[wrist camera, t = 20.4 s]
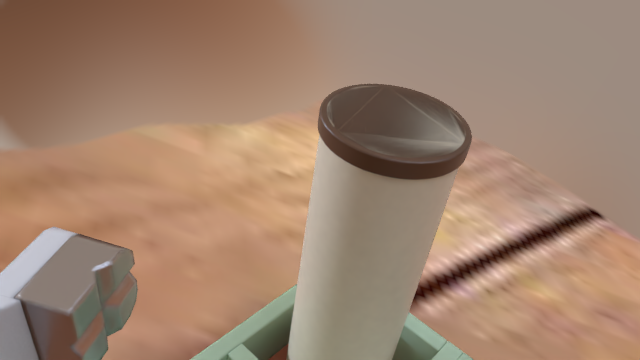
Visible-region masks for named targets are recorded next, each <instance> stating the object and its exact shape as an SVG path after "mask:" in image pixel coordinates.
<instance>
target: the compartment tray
mask: <svg viewBox="0 0 640 360" xmlns="http://www.w3.org/2000/svg"><path fill="white" fill-rule="evenodd" d="M296 290H297V284H296V285H295V286H293V287H292V288H291V289H289V290H288V291H286V292H285V293H284V294H282V295H281V296H279V297H278V298H276V299H275V300H274V301H272V302H271V303H269V304H268V305H267V306H265V307H264V308H262V309H261V310H260V311H258V312H257V313H255V314H254V315H253V316H251V317H250V318H248V319H247V320H245V321H244V322H243V323H241V324H240V325H238V326H237V327H236V328H234V329H233V330H231V331H230V332H229V333H227V334H226V335H224V336H223V337H222V338H220V339H219V340H217V341H216V342H214V343H213V344H212V345H210V346H209V347H207V348H206V349H205V350H203V351H202V352H200V353H199V354H198V355H196V356H195V357H193V358H192V359H191V360H286V357H287V350H288V344H289V337H290V330H291V323H292V317H293V310H294V303H295V296H296ZM392 360H473V359H472V358H471V357H469V356H468V355H467V354H465V353H463V351H461V350H460V349H458V348H457V347H456V346H454V345H453V344H452V343H450V342H449V341H448V342H447V340H446V339H444V338H443V337H442V336H440V335H439V334H438V333H436V332H435V331H434V330H432V329H431V328H429V327H428V326H427V325H425V324H424V323H423V322H421V321H420V320H419V319H417V318H416V317H415V316H413V315H412V314H410V313H409V312H408V315H407V318H406V321H405V324H404V327H403V330H402V333H401V335H400V338H399V341H398V344H397V347H396V350H395V353H394V356H393V358H392Z"/></svg>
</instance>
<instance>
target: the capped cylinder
mask: <svg viewBox="0 0 640 360" xmlns="http://www.w3.org/2000/svg"><path fill="white" fill-rule="evenodd" d="M318 131H319V141H318V148H317V154H316V161H315V168H314V175H313V182H312V188H311V195H310V202H309V209H308V215H307V222H306V229H305V236H304V242H303V249H302V256H301V263H300V269H299V276H298V283H297V290H296V296H295V303H294V310H293V317H292V323H291V330H290V337H289V344H288V350H287V357H286V360H392V358H393V356H394V353H395V350H396V347H397V344H398V341H399V338H400V335H401V333H402V330H403V327H404V324H405V321H406V318H407V315H408V312H409V309H410V307H411V304H412V301H413V298H414V295H415V292H416V289H417V286H418V284H419V281H420V278H421V275H422V272H423V269H424V266H425V263H426V260H427V258H428V255H429V252H430V249H431V246H432V243H433V240H434V237H435V235H436V232H437V229H438V226H439V223H440V220H441V217H442V214H443V211H444V209H445V206H446V203H447V200H448V197H449V194H450V191H451V188H452V186H453V183H454V180H455V177H456V174H457V171H458V168H459V166H460V165H461V164H462V163H463V162H464V160H465V158H466V156H467V153H468V150H469V147H470V144H471V140H472V135H471V130H470V128H469V126H468V124H467V122H466V121H465V120H464V118H462V116H461V115H460V114H459V113H458V112H457V111H455V110H454V109H453V108H451V107H450V106H448V105H447V104H445V103H444V102H442V101H440V100H438V99H436V98H434V97H431V96H429V95H427V94H424V93H421V92H418V91H415V90H411V89H407V88H403V87H398V86H392V85H384V84H360V85H352V86H349V87H344V88H341V89H338V90H336V91H334V92H333V93H331V94H330V95H328V96H327V97H326V98H325V99H324V101H323V102H322V104H321V107H320V112H319V119H318Z"/></svg>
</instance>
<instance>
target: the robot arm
mask: <svg viewBox="0 0 640 360" xmlns="http://www.w3.org/2000/svg"><path fill="white" fill-rule="evenodd" d="M134 264H135V262H134V256H133V251H132V250H130V249H127V248H124V247H120V246H117V245H114V244H111V243H107V242H104V241H101V240H97V239H94V238H91V237H87V236H84V235H81V234H77V233H74V232H70V231H67V230H63V229H60V228H56V227H52V228H49V229H47V230H45V231H43V232H42V233H41V234H40V235H39V236H38V237H37V238H36V239H35V240H34V241H33V242H32V243H31V244H30V245H29V246H28V247H27V248H26V249H25V250H24V251H23V252H22V253H21V254H20V255H18V256H17V257H16V258H15V259H14V260H13V261H12V262H11V263H10V264H9V265H8V266H7V267H6V268H5V269H4V270H3V271H2V272H1V273H0V360H101V359H102V357H103V356H104V354H105V353H106V351H107V350H108V340H107V336H109V335H111V334H113V333H115V332H117V331H119V330H121V329H122V328H123V326H124V325H125V323H126V322H127V320H128V318H129V317H130V315H131V312H132V310H133V307H134V305H135V302H136V297H137V290H138V289H137V280H136V279H135V278H134V276H133V275H132V274H131V273H130V272H129V271H130V269H131V268H132V267H133V265H134Z"/></svg>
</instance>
